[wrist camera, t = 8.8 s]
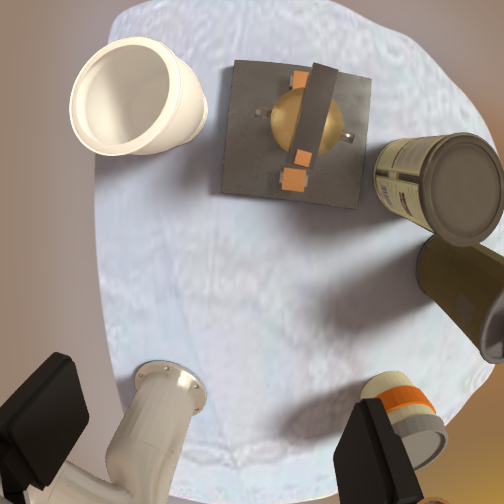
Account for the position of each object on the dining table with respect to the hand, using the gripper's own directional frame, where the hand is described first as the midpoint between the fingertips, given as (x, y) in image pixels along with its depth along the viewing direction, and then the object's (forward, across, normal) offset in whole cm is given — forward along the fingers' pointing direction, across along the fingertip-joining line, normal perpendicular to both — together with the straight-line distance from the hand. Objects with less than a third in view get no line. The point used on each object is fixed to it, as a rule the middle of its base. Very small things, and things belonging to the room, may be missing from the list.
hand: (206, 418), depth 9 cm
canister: (+31, -28, +2) cm, 42 cm away
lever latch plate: (+30, -4, -12) cm, 33 cm away
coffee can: (+31, -19, -9) cm, 37 cm away
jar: (+31, +11, -14) cm, 35 cm away
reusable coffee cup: (+32, -25, +25) cm, 47 cm away
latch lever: (+21, -4, -12) cm, 24 cm away
